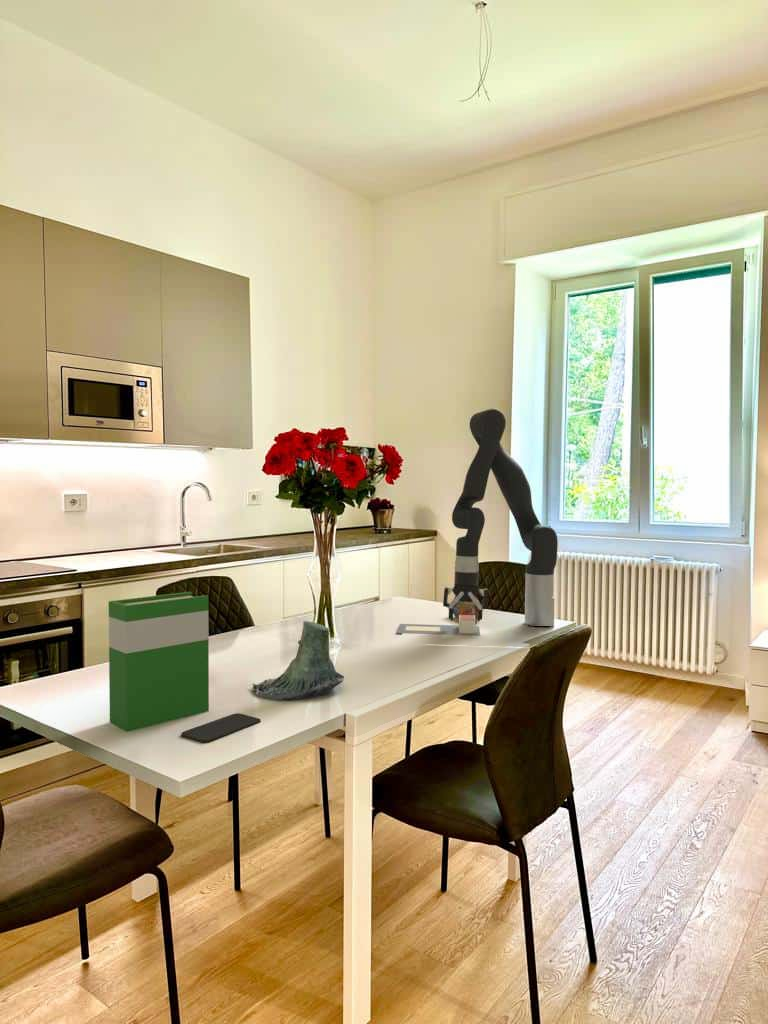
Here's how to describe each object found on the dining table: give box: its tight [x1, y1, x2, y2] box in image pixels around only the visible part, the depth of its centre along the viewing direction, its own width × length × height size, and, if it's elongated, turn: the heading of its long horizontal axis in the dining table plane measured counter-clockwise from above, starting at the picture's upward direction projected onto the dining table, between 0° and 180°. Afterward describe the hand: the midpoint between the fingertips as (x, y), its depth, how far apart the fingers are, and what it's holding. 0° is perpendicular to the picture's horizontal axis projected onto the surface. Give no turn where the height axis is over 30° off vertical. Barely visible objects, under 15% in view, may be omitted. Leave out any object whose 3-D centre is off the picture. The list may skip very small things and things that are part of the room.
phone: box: [180, 713, 262, 744], centre depth 138 cm, size 7×1×15 cm
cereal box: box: [108, 591, 210, 733], centre depth 144 cm, size 18×7×24 cm, turn 135°
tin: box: [453, 595, 479, 622], centre depth 246 cm, size 15×3×8 cm, turn 25°
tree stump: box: [252, 620, 345, 702], centre depth 164 cm, size 18×20×18 cm
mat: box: [395, 623, 481, 637], centre depth 228 cm, size 26×14×1 cm, turn 84°
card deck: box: [458, 615, 476, 633], centre depth 227 cm, size 5×9×4 cm, turn 174°
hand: (465, 620), depth 227 cm, fingers open, 8 cm apart
